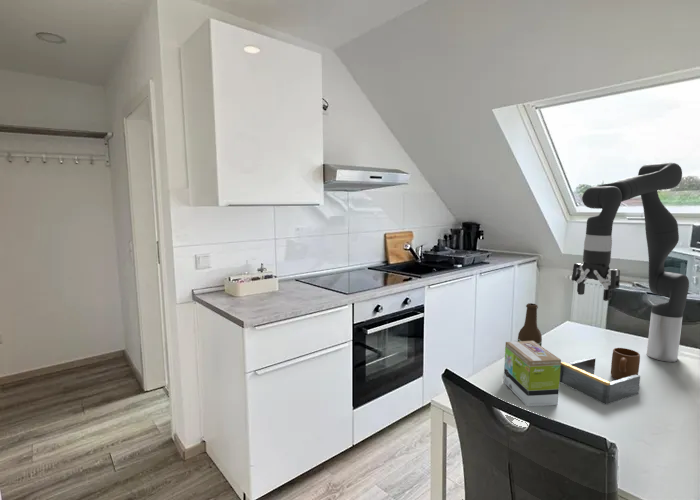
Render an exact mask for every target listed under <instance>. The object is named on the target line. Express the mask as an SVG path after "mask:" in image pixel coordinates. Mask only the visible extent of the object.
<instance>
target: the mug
mask: <svg viewBox="0 0 700 500" xmlns="http://www.w3.org/2000/svg"><path fill="white" fill-rule="evenodd" d="M611 356H612V357H611V365H610V376H611V377H612V378H613V379H615V380H618V379H622V378H625V377H629V376H632V375H636V374H637V375H639V371H640V362H641V354H640V353H639V351H636V350H632V349H630V348H625V347H624V348H623V347H615V348H614V349H613V350H612V354H611Z"/></svg>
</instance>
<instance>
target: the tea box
mask: <svg viewBox="0 0 700 500" xmlns="http://www.w3.org/2000/svg"><path fill="white" fill-rule="evenodd" d="M504 349H505V350H504V352H505V353H504V370H503V383H504V384H505V385H506V387H508V388H509V389H510V390H511V392H513V393H514V394H515V395H516V397H518V398H519V400H520V401H521V402H522V403H523V404H524V406H526V407H547V406H549V407H550V406H558V403H559V392H560V391H559V390H560V382H559V381H560V369H561V362H562V360H561V359H560V358H559V357H558V356H556V355H554V354H553V353H552V352H551V351H549V350H547V349H546V348H545V347H543V346H542V345H541V346H540V345H539V344H537V343H536V342H534V341H518V340H517V341H505V348H504Z"/></svg>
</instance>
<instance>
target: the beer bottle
mask: <svg viewBox="0 0 700 500" xmlns="http://www.w3.org/2000/svg"><path fill="white" fill-rule="evenodd" d="M525 308H526V312H525V317H524V324H523V326H522V327H521V328H520V329H519V331H518V335H517V342H518V341H534V342H536V343H537V344H539V345H540V346H542V343H543V336H542V333H541V330H540V328H539V327H538V321H537V320H538V312H537V311H538V309H539V306H538V304H536V303H527V304H526V305H525Z"/></svg>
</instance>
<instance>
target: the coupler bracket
mask: <svg viewBox="0 0 700 500" xmlns="http://www.w3.org/2000/svg"><path fill="white" fill-rule="evenodd" d="M595 366H596V358H595V357H593V356H591V357H586V358H583V359H578V360H575V361H571V362H565V361H561V369H560V381H559V383H561V384H563V385H565V386H567V387H569V388H571V389H573V390H575V391H578V392H580V393H581V394H583V395H585V396H587V397H590V398H591V399H593V400H596V401H598V402H599V403H601V404H604V405H608V404H612V403H615V402H618V401H620V400H621V401H622V400H623V399H627V398H630V397H633V396H636V395H639V392H640V391H639V390H640V385H641V384H640V381H641V375H639V374H638V375H637V374H636V375H632V376H629V377H625V378H622V379H618V380H617V379H615V380H613V381H609V380H606V379H603V378H602V377H599V376H597V375H595V369H596V367H595Z"/></svg>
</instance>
